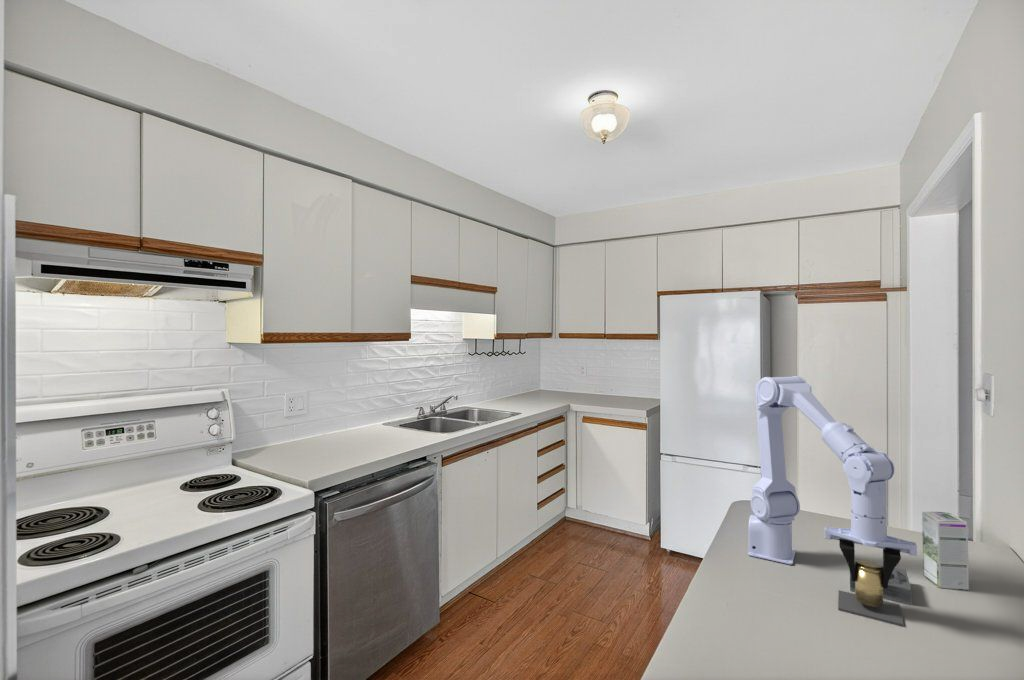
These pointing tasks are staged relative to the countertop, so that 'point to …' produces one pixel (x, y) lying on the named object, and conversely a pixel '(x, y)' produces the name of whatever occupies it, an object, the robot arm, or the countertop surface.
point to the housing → (894, 586)
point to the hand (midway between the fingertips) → (868, 582)
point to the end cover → (869, 583)
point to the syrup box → (945, 550)
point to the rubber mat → (870, 609)
